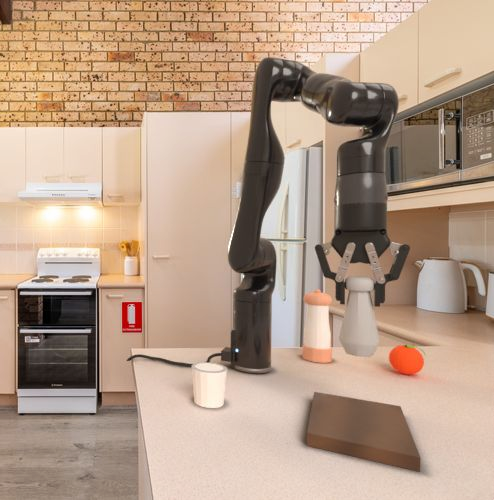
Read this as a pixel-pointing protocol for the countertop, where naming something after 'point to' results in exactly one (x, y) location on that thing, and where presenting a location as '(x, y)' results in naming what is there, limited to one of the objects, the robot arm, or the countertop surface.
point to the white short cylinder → (209, 384)
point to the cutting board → (362, 430)
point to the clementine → (406, 359)
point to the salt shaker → (359, 318)
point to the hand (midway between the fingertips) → (359, 304)
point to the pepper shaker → (317, 328)
